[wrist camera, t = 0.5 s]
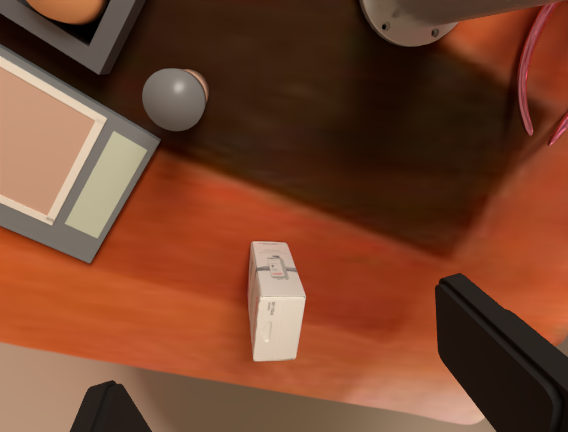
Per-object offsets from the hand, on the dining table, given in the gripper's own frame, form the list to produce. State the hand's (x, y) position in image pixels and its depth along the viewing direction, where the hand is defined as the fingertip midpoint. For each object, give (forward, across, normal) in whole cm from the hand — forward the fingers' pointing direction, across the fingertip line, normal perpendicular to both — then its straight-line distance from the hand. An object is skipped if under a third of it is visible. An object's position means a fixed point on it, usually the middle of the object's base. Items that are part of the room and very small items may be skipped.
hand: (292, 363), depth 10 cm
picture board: (+31, +20, -4) cm, 37 cm away
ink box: (+31, +1, +16) cm, 35 cm away
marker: (+31, +3, -7) cm, 32 cm away
